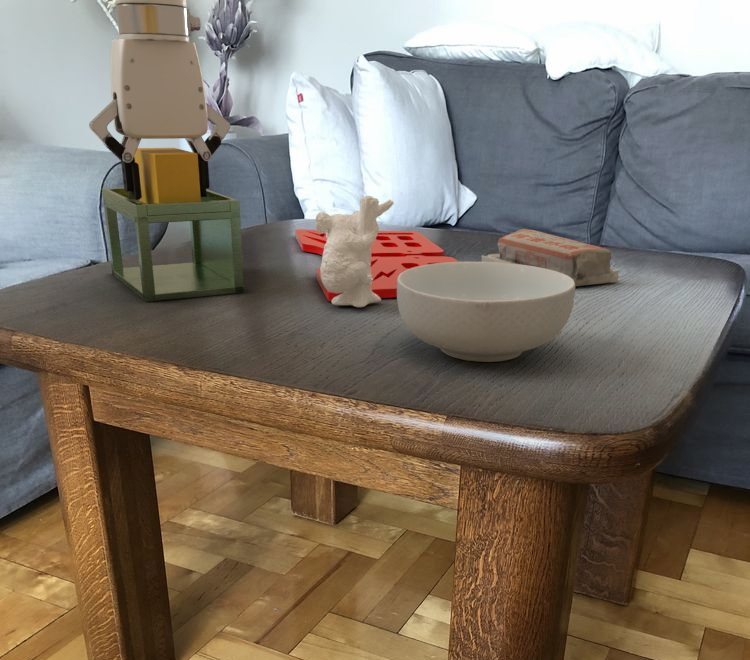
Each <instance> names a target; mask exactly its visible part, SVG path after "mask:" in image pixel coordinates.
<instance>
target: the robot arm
mask: <svg viewBox="0 0 750 660" xmlns="http://www.w3.org/2000/svg"><path fill="white" fill-rule="evenodd" d="M187 3H188V2H187V0H115V8H116V19H117V27H118V34H119V35H118V38H115V39H111V46H110V47H111V48H110V94H111V97H110V98H111V101H110V102H109V104H107V105H106V106H105V107H104V108H103V109H102V110H101V111H100V112H98V114H97V115H96V116H95V117H94V118H92V120H90V121H89V123H88V126H89V130H91V131H92V132H93V134H94V135H95V136H96V137H97V138H98V140H100V141H101V143H103V145H104V146H105V147H106V148H107V149H108V151H109V152H111V153H112V154H113V156H115V157H116V158H117V159H118V160H119V161H120V165H121V173H122V183H123V188H124V189H125V191H126V192H129V196H130V197H131V198H133V199H135V200H139V199H140V198H142V194H141V184H140V174H139V165H138V164H137V163H136V162H135V157H134V156H135V153H136V151H137V148H139V145H140V143H141V141H142V139H143V140H146V139H147V140H148V139H149V140H151V139H152V140H154V139H155V140H156V139H159V140H160V139H161V140H162V139H164V140H165V139H166V140H167V139H169V140H170V139H172V140H173V139H176V140H177V139H184V140H185V141H186V143H187V145H188V147H189V148H190V150H191V152H193V153H197V155H198V169H199V183H200V196H201V197H206V196H207V191H206V189H208V190H210V185H211V184H210V170H209V169H210V168H209V161H211V159H212V156H213V155H214V153H215V152H217V150H218V149H219V148H220V146H221V145H222V141H223V140H225V137H226V136H227V134H228V133H229V131H230V130H231V123H230V122H229V121H228V120H227V119H225V117H223V116H222V114H220V113H219V112H217V110H215V109H214V108H213V107H212V106H211V105H210V104H209V103H207V98H206V90H205V84H204V83H205V82H204V77H203V72H202V67H201V63H200V57H199V53H198V50H197V46H196V43H195V41H190V37H191V35H192V33H193V32H194V31H200V30H201V26H202V25H201V19H200V17H199V16H193V15H192V14H191V13H190V9H189V8H187V7H188V5H187ZM111 122H113V127H114V130H115V131H116V132H117V133H118V134H119V135H122V136H123V137H122V139H121V141H120V142H119V141H118V140H117V139H116V138H115V137H114V136H113V135H112V134H111V133H110V131H109V129H108V126H109V125H110V124H111ZM209 123H210V124H211V125H212V126H213V129H212V131H211V133H210V135H209V136H208V137H207V138H206V139H205V140H204V138H203V136H205V134H207V132H208V128H209Z"/></svg>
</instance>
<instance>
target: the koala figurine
mask: <svg viewBox="0 0 750 660" xmlns="http://www.w3.org/2000/svg"><path fill="white" fill-rule="evenodd" d="M379 203H380V200H379V199H378V198H377V197H374V196H372V195H365V196H362V197H360V201H359V205H360V206H359V210H357V211H356V212H353V213H351V214H349V213H348V214H347V213H345V214H342V213H334V214H331V215H330V214H328V213H327V212H324V211H320V212H318V213H317V214H316V216H315V230H317V231H318V232H319V233H322V234H323V233H325V232H326V238H327V240H326V244H325V246H324V251H323V255H321V258H322V259H321V263H320V267H319V268H320V270H321V280H322V282H323V285H324V286H325V288H326V289H327V290H328V291H330V292H333V293H342V294H340V295H339V296H337V297H334V298H333V299H332V302H331V304H332V305H333V306H352V307H355V308H364V307H366V306H367V305H369V304H373V303H379V302H381V301H382V298H380V297H379V296H378V295H376V294H375V293H373V292H372V290H371V284H372V283H371V282H372V280H373V279H372V274H371V267H370V266H371V264H370V263H371V245H372V244H373V242H374V241H375V239H376V237H377V234H378V231H380V230H379V228H380V227H379V223H378V220H377V218H378V217H381V216H382V215H383V214H384V213H385V212H387V211H389V210H390V208H391V207H393V205H394V204H395V203H394V201H393V200H392V199H388V200H386V201H384V202H383V203H381V204H379ZM343 292H344V293H343Z"/></svg>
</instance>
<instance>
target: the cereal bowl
mask: <svg viewBox="0 0 750 660" xmlns="http://www.w3.org/2000/svg"><path fill="white" fill-rule="evenodd" d="M575 296H576V286H575V282H574V280H573V279H572V278H571V277H569V276H567V275H565V274H562V273H560V272H557V271H553V270H549V269H544V268H539V267H534V266H527V265H519V264H510V263H498V262H482V261H458V262H446V263H435V264H428V265H423V266H418V267H414V268H411V269H408V270H406V271H404V272H402V273H401V274H400V275H399V276H398V278H397V297H396V301H397V307H398V312H399V316H400V318H401V321H402V323H403V324H404V326H405V327H406V328H407V329H408V331H409V332H410V333H411V334H412V335H413V336H415V337H416V338H417V339H418V340H420V341H421V342H424V343H425V344H427V345H430V346H431V347H435V348H437V349H440V351H441V352H442V353H444V354H445V355H447V356H449V357H451V358H454V359H458V360H463V361H467V362H475V363H478V362H479V363H493V362H494V363H496V362H504V361H509V360H513V359H516V358H518V357H519V356H521V355H522V354H523V352H526V351H530V350H533V349H536V348H538V347H541V346H543V345H544V344H547V343H548V342H550V341H551V340H552V339H554V338H555V337H557V335H559V334H560V332H561V331H562V330H563V329H564V328H565V326H566V325H567V323H568V321H569V319H570V318H571V314H572V312H573V308H574V303H575V302H574V301H575Z"/></svg>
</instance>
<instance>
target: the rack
mask: <svg viewBox="0 0 750 660" xmlns="http://www.w3.org/2000/svg"><path fill="white" fill-rule="evenodd" d="M206 191H207V196H206V197H201V196H200V197H201V201H199V202H177V203H154V204H145V203H143V202H141V201H139V200H135V199H133V198H131V197H130V196H129V192H126V191H125V189H124V187H102V188H101V193H102V200H103V201H102V202H103V208H104V209H103V210H104V216H105V217H104V218H105V226H106V233H107V240H108V242H107V243H108V250H109V259H110V266H111V274H112V276H113V277H114V278H116V279H117V280H118V281H119V282H121V283H122V284H123V285H124V286H125V287H127V288H128V289H129V290H131V291H132V292H133V293H134V294H135V295H137V296H138V297H139V298H141V300H143V301H144V302H146V303H151V302H161V301H171V300H172V301H173V300H180V299H191V298H201V297H211V296H220V295H221V296H222V295H231V294H242V293H243V294H244V293H245V286H244V266H243V265H244V263H243V244H242V243H243V242H242V227H241V226H242V225H241V224H242V223H241V204H240V200H239V199H236V198H234V197H231V196H228V195H224V194H222V193H219V192H216V191H213V190H210V189H206ZM118 214H119V215H121V216H122V217H124V218H126V219H129V220H130V221H132V222H133V223H134V226H135V227H134V228H135V235H136V244H137V254H138V264H139V266H131V267H124V264H123V256H122V255H123V254H122V248H121V247H122V246H121V240H120V230H119V229H120V228H119V222H118ZM179 222H181V223H182V222H189V232H190V245H191V246H190V247H191V258H192V260H191V261H192V262H182V263H180V262H179V263H168V264H155V265H153V258H152V257H153V256H152V248H151V247H152V246H151V236H150V227H149V224H161V223H163V224H164V223H179Z"/></svg>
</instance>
